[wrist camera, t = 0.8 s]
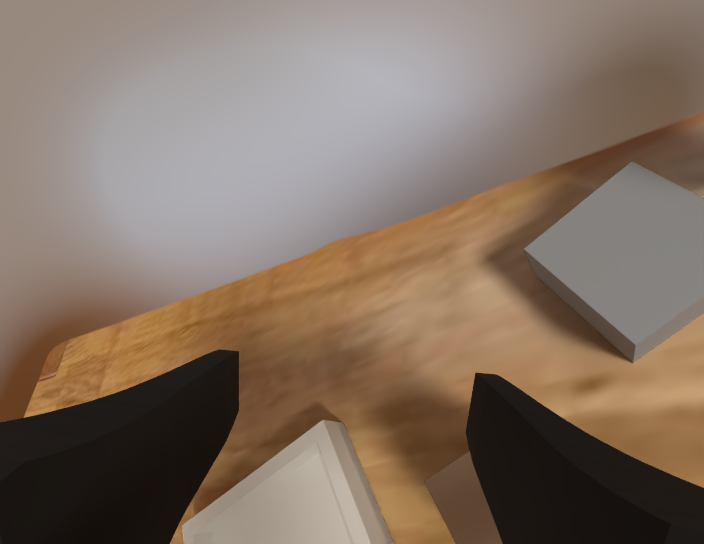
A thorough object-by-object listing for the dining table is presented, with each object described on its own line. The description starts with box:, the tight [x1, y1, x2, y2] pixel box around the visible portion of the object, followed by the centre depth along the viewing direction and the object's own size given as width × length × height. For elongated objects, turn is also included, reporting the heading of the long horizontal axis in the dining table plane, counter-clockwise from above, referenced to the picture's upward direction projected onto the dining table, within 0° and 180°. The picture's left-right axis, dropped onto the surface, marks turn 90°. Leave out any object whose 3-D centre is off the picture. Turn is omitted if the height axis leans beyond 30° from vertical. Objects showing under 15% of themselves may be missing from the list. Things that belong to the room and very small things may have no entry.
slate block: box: [524, 161, 704, 363], centre depth 20 cm, size 7×7×4 cm
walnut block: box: [424, 451, 503, 544], centre depth 17 cm, size 4×4×7 cm
